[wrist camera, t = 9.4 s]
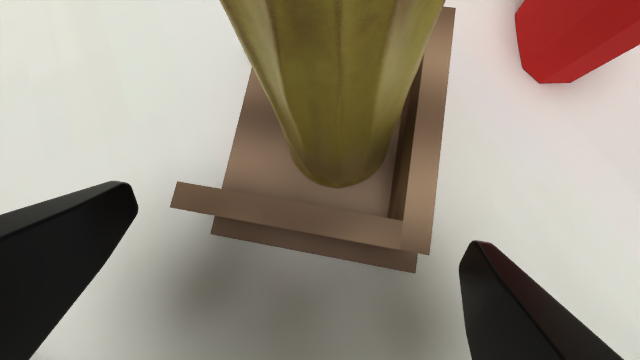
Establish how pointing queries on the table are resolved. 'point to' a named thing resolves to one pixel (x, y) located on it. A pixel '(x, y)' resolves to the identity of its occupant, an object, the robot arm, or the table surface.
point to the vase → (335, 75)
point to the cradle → (330, 202)
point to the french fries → (574, 36)
